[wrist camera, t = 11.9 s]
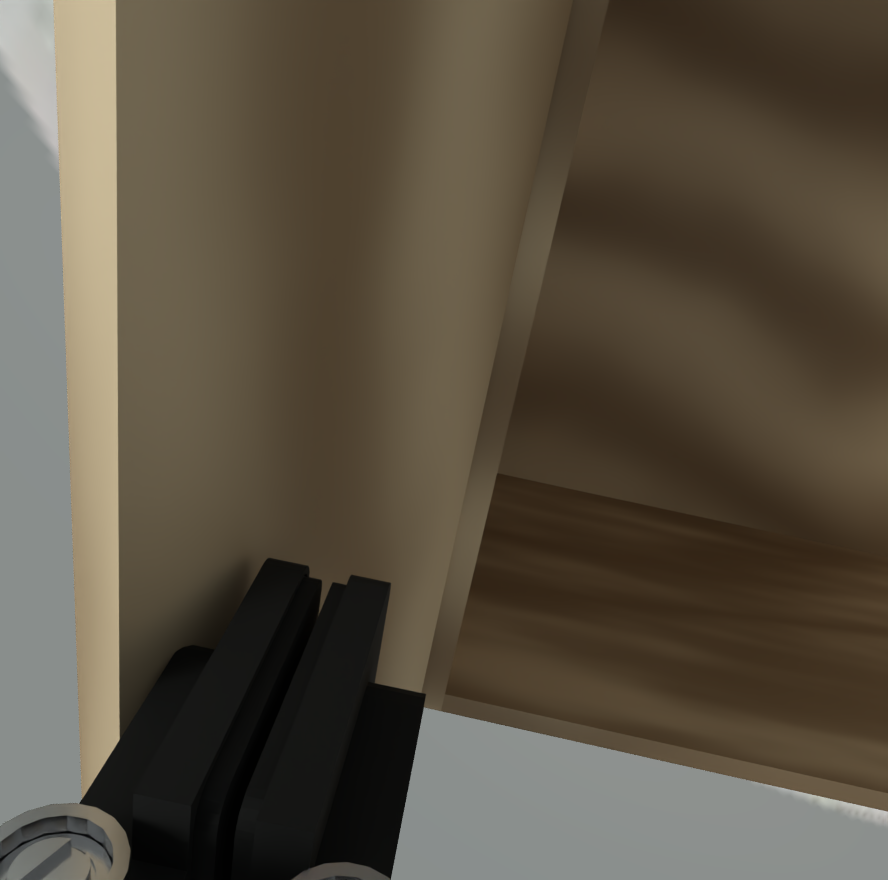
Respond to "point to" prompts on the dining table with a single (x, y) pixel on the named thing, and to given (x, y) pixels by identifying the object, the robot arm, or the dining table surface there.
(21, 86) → the dining table surface
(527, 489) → the carton
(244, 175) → the flap
